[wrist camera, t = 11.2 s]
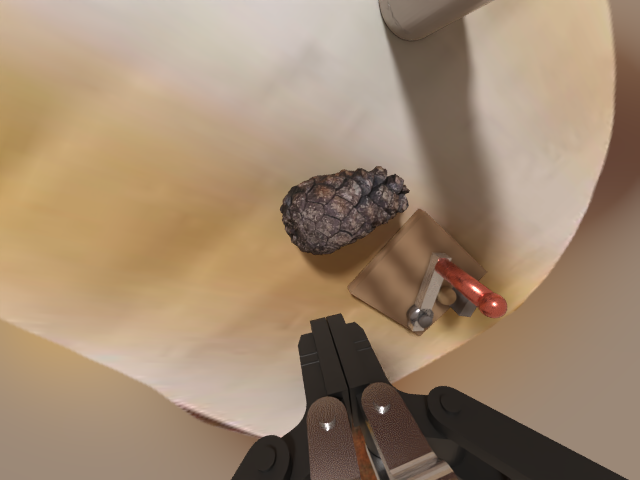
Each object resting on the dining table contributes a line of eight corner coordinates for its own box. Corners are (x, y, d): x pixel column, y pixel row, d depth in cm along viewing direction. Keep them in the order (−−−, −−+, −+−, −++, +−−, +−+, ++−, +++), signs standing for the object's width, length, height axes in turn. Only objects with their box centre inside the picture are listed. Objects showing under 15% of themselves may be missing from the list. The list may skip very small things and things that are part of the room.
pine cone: (398, 204, 40) (436, 227, 31) (295, 246, 40) (304, 281, 31) (385, 138, 36) (425, 143, 27) (267, 185, 35) (269, 205, 26)
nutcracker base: (418, 208, 41) (441, 220, 36) (479, 267, 50) (506, 284, 44) (347, 286, 45) (358, 308, 40) (415, 329, 53) (432, 352, 48)
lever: (422, 323, 49) (474, 388, 37) (402, 324, 48) (448, 391, 36) (450, 252, 43) (521, 302, 31) (427, 251, 42) (493, 303, 30)
